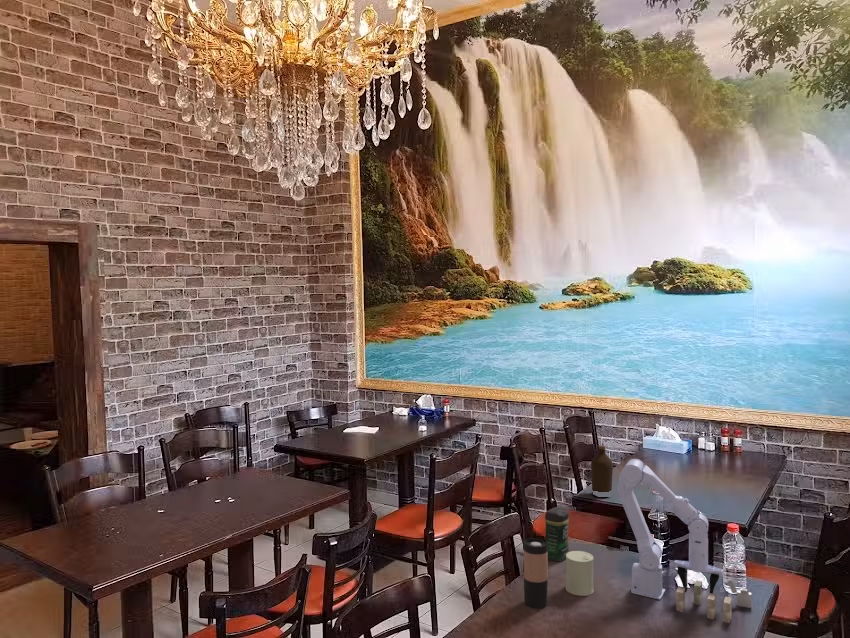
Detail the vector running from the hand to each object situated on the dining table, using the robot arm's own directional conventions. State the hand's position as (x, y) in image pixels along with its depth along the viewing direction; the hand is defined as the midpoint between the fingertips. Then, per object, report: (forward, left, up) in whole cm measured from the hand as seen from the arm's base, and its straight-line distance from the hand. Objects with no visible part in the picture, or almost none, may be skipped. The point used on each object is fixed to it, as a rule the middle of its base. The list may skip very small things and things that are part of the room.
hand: (698, 593), depth 205 cm
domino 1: (-4, -8, -3) cm, 9 cm away
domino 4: (+9, -8, -3) cm, 12 cm away
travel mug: (-45, -29, -3) cm, 53 cm away
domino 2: (0, 0, -3) cm, 3 cm away
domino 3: (+5, -8, -3) cm, 9 cm away
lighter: (+11, +4, -3) cm, 13 cm away
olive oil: (-59, +94, -3) cm, 111 cm away
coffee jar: (-52, +10, -3) cm, 53 cm away
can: (-36, -12, -3) cm, 38 cm away
